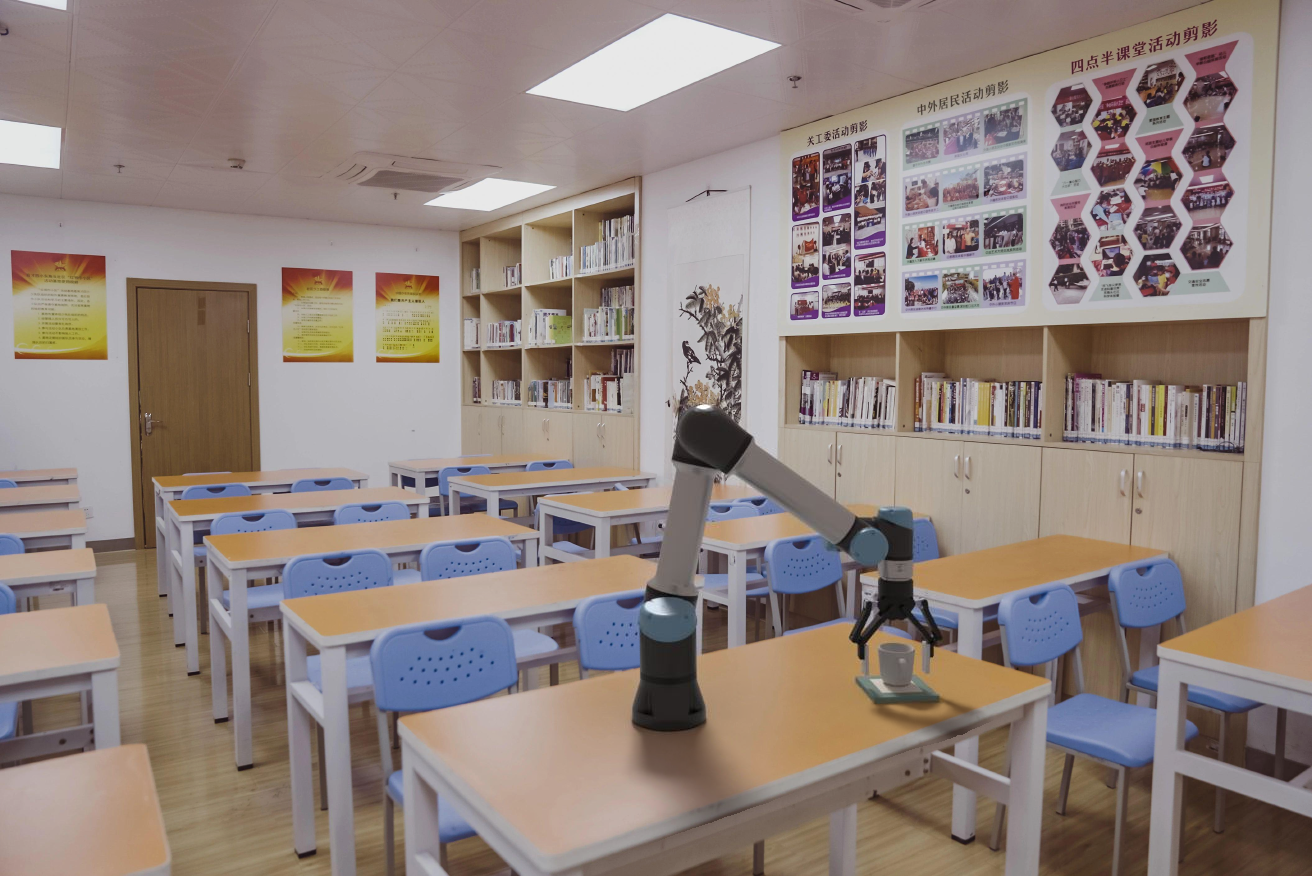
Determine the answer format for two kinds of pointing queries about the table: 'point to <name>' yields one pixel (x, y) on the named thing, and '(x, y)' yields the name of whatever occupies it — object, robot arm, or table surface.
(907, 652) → the cup
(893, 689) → the board
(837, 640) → the table surface
